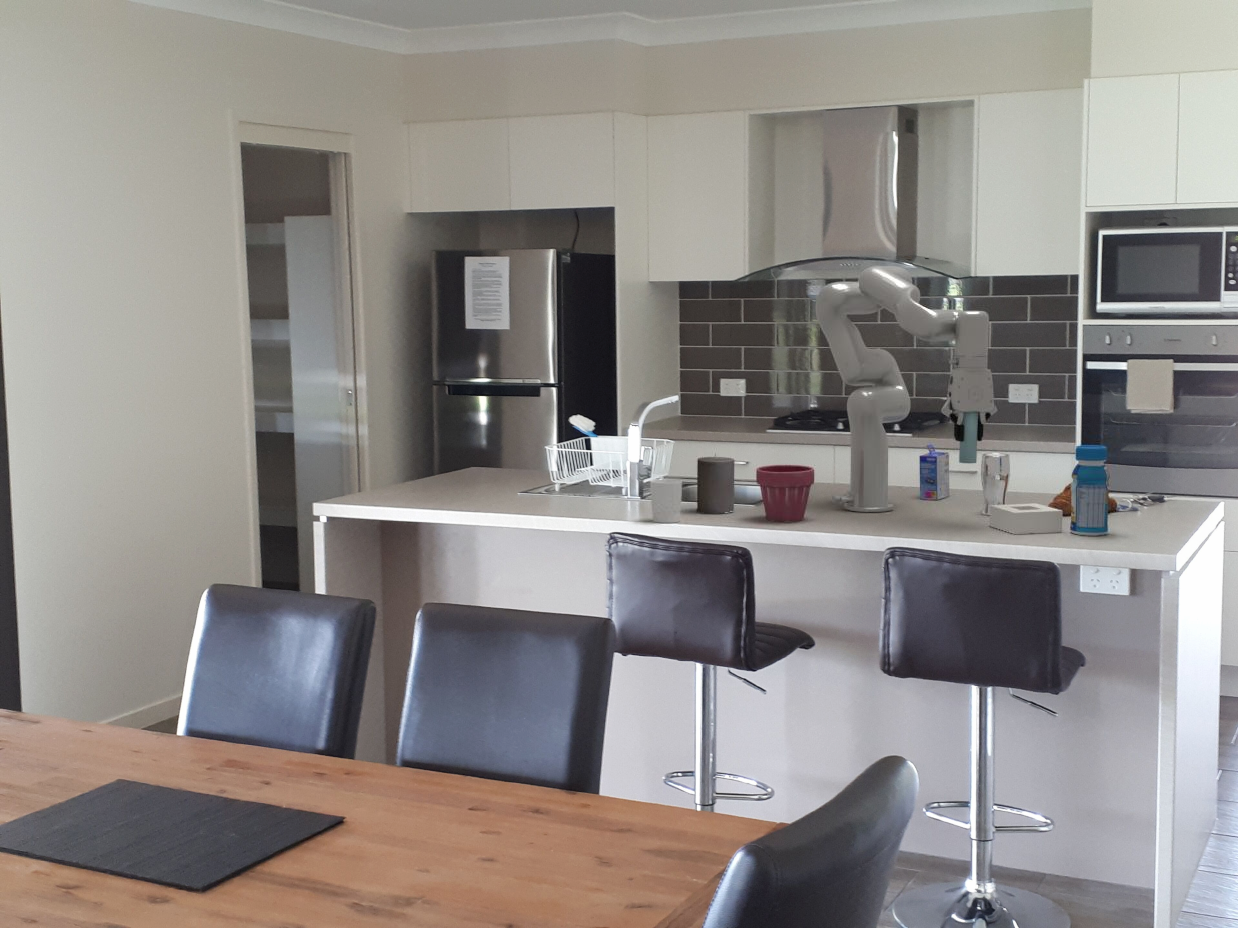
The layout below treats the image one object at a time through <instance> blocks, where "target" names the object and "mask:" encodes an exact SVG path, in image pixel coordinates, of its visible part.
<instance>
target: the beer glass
mask: <svg viewBox="0 0 1238 928" xmlns="http://www.w3.org/2000/svg"><path fill="white" fill-rule="evenodd" d="M1010 461H1011V460H1010V454H1007V453H998V452H997V453H994V452H991V453H988V452H987V453H982V454H981V465H980V466H981V468H980V477H981V478H980V479H981V486H982V487H981V488H982V493H983V506H982V511H981V514H982V515H984V516H989V515H990V505H1007V503H1006V502H1007V501H1006V500H1007V499H1006V498H1007V492H1008V488H1009V483H1010V477H1011V475H1010V474H1011V462H1010Z"/></svg>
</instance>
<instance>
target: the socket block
mask: <svg viewBox="0 0 1238 928" xmlns="http://www.w3.org/2000/svg"><path fill="white" fill-rule="evenodd" d="M988 522H989V524H988V525H989V527H990V526H991V528H993V527H994V529H996V528H997V529H996V530H999V529H1000V530H999V531H1002V530H1003V532H1005V531H1006V533H1008V532H1009V533H1008V534H1011V533H1012V534H1011V535H1031V534H1030V533H1034V534H1046V533H1047V534H1051V533H1053V534H1054V533H1055V534H1056V533H1063V511H1062V510H1058V509H1055V508H1051V507H1048V505H1043V504H1040V503H1036V502H1035V503H1016V504H1012V503H1011V504H1006V505H990V516H989V521H988Z"/></svg>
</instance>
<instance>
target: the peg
mask: <svg viewBox="0 0 1238 928" xmlns="http://www.w3.org/2000/svg"><path fill="white" fill-rule="evenodd" d="M962 425H964V441H963V442H960V441H959V453H958V462H959V463H961V464H976V463H977V456H978V453H977V452H978V441H977V430H978V412H964V415H963V420H962Z"/></svg>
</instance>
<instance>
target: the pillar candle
mask: <svg viewBox="0 0 1238 928" xmlns="http://www.w3.org/2000/svg"><path fill="white" fill-rule="evenodd" d="M696 461H697V466H696V467H697V468H696V470H697V471H696V472H697V474H696V475H697V477H696V480H697V481H696V485H697V487H696V488H697V489H696V490H697V491H696V505H697V506H696V507H697V508H696V512H697V513H699V514H700V513H701V514H708V515H719V514H718V513H725V512H730V511H733V510H734V511H735V459H734V458H731V457H725V456H717V454H716V453H715V454H714V456H702V457H698V458H697V460H696Z"/></svg>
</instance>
